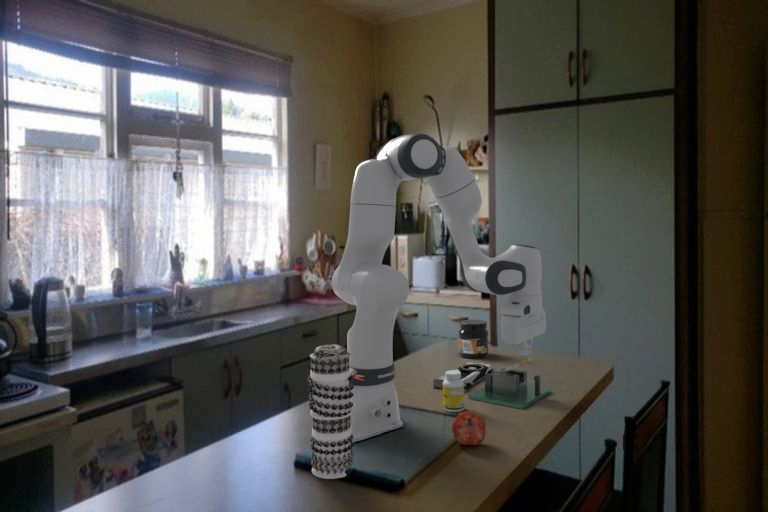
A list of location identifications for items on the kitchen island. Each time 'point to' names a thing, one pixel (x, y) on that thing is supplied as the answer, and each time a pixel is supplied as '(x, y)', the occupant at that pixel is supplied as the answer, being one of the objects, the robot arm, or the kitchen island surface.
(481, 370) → the graphics card
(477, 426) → the pomegranate
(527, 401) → the circuit board
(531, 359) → the white strip
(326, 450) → the decorative candle
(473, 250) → the robot arm
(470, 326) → the supplement container
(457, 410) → the supplement bottle
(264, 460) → the kitchen island surface
